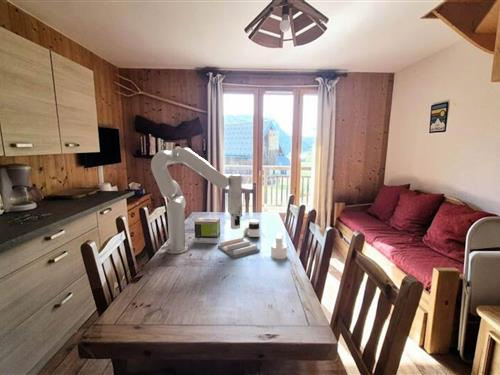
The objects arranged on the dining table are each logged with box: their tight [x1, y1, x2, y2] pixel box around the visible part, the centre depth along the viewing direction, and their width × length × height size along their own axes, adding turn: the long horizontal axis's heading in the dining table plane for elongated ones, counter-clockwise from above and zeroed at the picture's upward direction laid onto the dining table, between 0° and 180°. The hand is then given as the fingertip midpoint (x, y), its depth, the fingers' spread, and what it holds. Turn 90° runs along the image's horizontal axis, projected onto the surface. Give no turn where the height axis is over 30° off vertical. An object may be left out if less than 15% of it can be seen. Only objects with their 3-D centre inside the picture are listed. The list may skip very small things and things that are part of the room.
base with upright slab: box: [270, 232, 288, 260], centre depth 148 cm, size 9×9×12 cm
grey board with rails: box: [217, 236, 261, 260], centre depth 156 cm, size 18×19×4 cm
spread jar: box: [242, 219, 261, 239], centre depth 179 cm, size 12×11×12 cm
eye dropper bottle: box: [230, 214, 241, 230], centre depth 157 cm, size 4×6×12 cm
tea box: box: [193, 217, 221, 244], centre depth 170 cm, size 15×10×15 cm, turn 84°
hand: (235, 224), depth 157 cm, fingers closed on eye dropper bottle, 3 cm apart
